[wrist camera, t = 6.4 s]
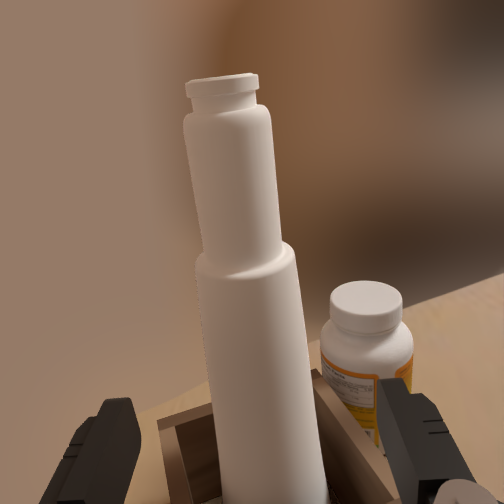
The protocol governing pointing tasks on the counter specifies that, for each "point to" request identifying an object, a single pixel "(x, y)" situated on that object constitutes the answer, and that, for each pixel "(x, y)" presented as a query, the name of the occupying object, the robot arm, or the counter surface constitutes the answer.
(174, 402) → the counter surface
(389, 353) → the supplement bottle
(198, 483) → the holder
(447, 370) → the counter surface
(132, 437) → the robot arm
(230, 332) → the cosmetic bottle
